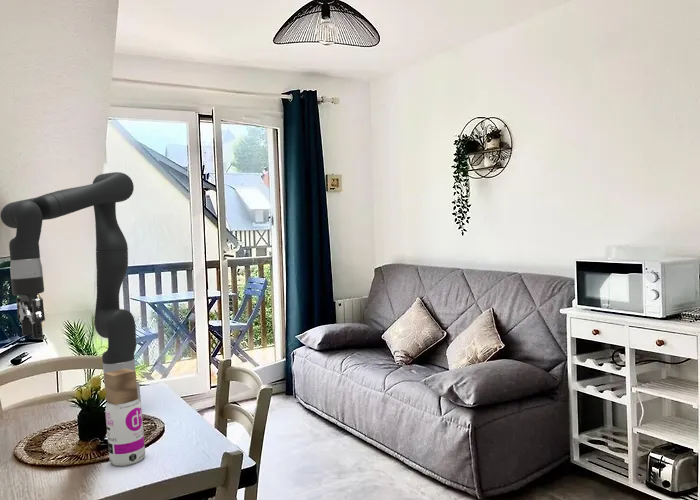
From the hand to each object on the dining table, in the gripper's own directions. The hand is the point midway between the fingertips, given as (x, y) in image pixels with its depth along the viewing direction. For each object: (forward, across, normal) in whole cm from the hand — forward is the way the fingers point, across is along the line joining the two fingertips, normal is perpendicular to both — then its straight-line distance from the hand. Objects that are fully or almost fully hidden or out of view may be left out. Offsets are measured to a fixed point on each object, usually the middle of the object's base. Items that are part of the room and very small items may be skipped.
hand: (32, 336), depth 160 cm
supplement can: (+30, -30, -10) cm, 44 cm away
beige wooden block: (+15, -30, -10) cm, 35 cm away
